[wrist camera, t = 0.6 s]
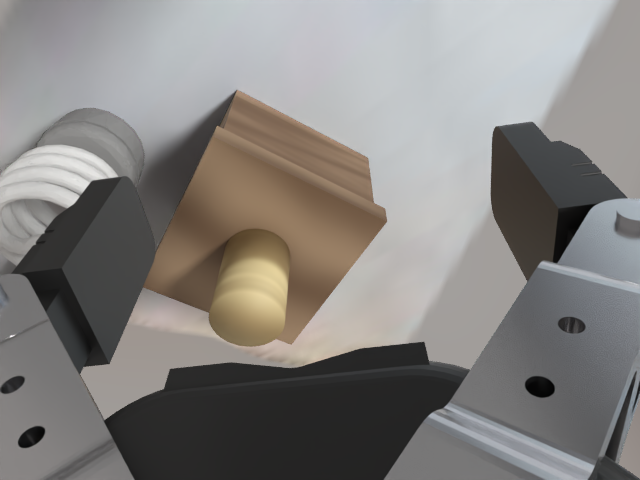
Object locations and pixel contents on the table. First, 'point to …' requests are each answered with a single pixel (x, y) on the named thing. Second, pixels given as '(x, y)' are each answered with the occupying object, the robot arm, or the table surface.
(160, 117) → the table surface
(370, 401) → the robot arm
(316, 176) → the lid
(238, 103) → the box
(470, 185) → the table surface
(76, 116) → the light bulb
